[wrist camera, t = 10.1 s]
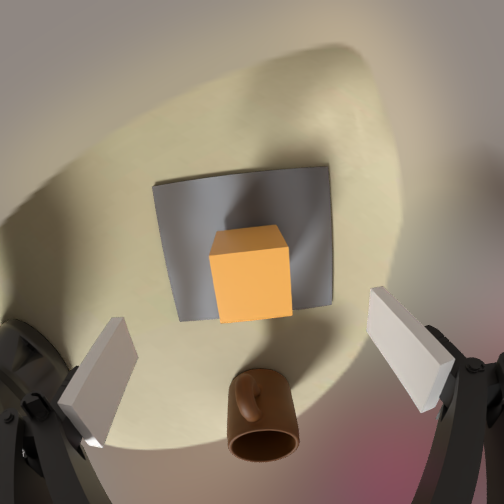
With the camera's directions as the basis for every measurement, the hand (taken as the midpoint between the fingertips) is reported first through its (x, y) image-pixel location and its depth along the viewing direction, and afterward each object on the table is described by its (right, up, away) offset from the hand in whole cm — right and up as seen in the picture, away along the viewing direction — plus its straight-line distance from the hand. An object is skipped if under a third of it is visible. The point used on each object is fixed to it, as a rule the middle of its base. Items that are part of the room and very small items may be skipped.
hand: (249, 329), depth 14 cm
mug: (0, -11, +18) cm, 21 cm away
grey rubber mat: (0, +4, +13) cm, 13 cm away
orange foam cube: (0, +4, +11) cm, 12 cm away
